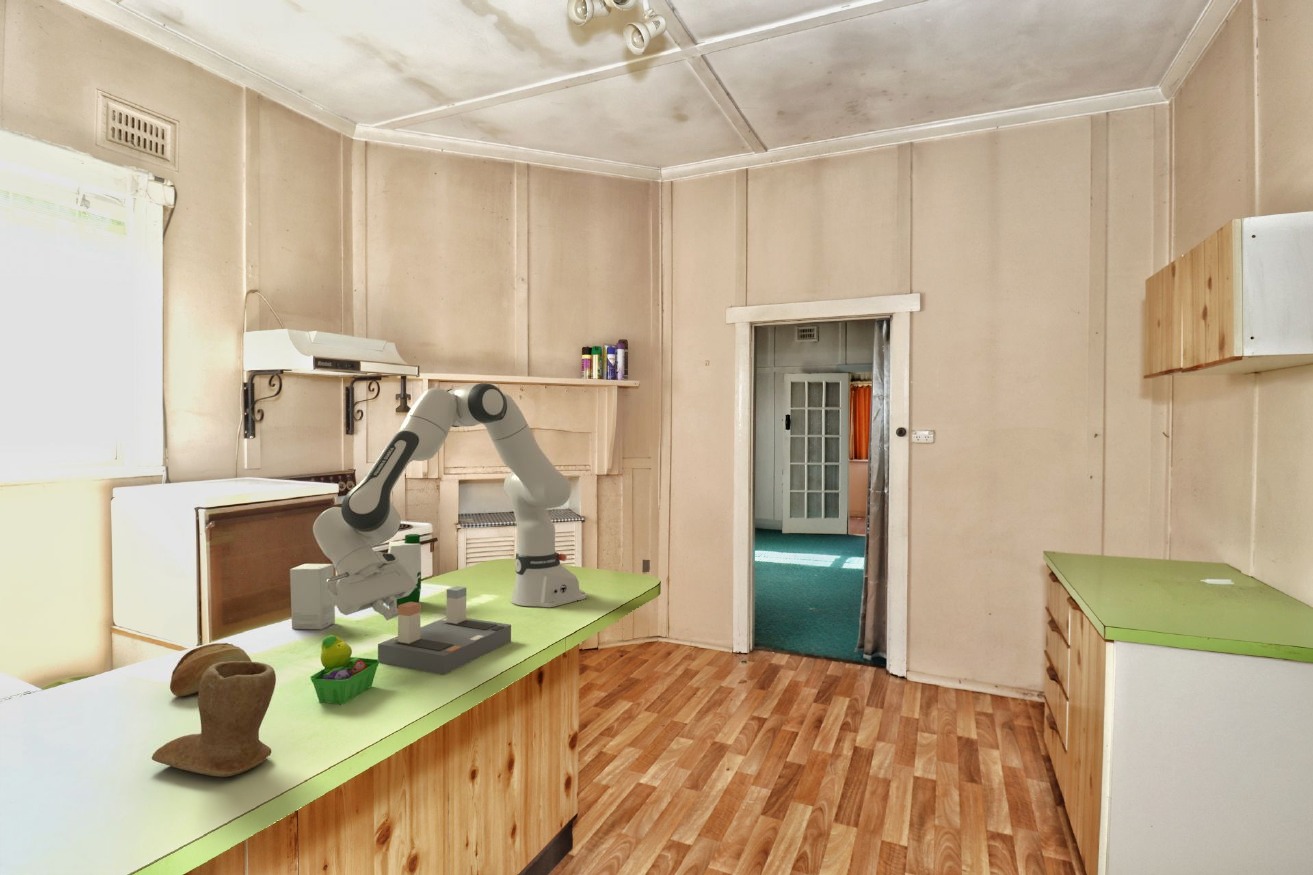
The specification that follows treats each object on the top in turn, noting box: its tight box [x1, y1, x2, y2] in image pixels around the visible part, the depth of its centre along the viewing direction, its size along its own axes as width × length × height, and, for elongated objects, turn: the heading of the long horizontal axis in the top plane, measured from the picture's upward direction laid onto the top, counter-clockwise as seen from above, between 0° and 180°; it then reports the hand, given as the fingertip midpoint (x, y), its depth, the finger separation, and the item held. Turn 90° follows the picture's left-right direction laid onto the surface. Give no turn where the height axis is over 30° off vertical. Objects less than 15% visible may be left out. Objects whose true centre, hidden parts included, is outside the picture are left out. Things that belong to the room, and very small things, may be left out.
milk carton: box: [387, 533, 422, 608], centre depth 192 cm, size 9×9×20 cm
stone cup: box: [151, 661, 277, 778], centre depth 103 cm, size 15×12×15 cm
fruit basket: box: [310, 634, 380, 705], centre depth 130 cm, size 11×9×11 cm
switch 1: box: [397, 602, 422, 644], centre depth 149 cm, size 4×3×8 cm
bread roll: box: [169, 642, 253, 697], centre depth 133 cm, size 10×15×8 cm, turn 156°
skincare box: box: [289, 563, 336, 631], centre depth 172 cm, size 8×7×16 cm
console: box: [377, 617, 512, 676], centre depth 155 cm, size 24×18×5 cm
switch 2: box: [445, 585, 467, 624], centre depth 163 cm, size 4×3×8 cm
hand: (394, 617), depth 150 cm, fingers closed
